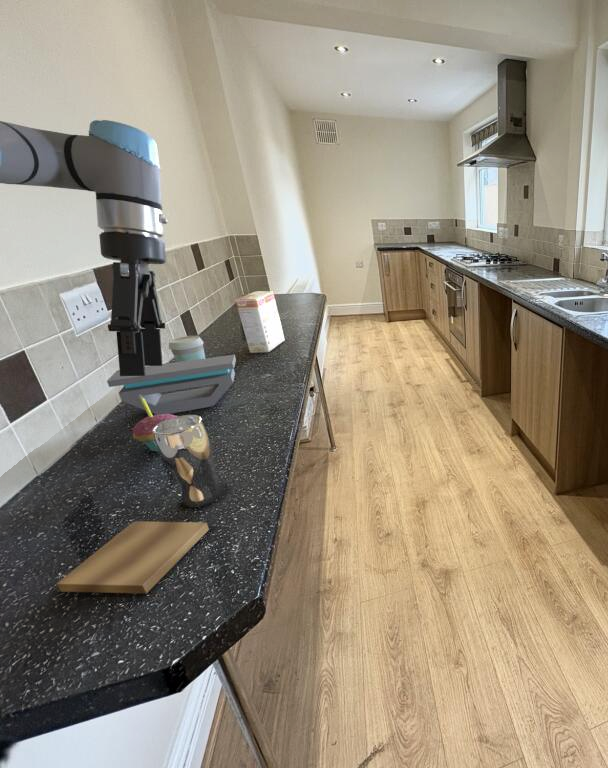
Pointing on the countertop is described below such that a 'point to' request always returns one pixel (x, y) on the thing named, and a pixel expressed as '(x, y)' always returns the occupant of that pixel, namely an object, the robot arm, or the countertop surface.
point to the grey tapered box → (178, 384)
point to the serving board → (134, 558)
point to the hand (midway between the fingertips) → (143, 370)
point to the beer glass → (189, 458)
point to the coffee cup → (187, 348)
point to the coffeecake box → (260, 321)
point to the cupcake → (149, 427)
